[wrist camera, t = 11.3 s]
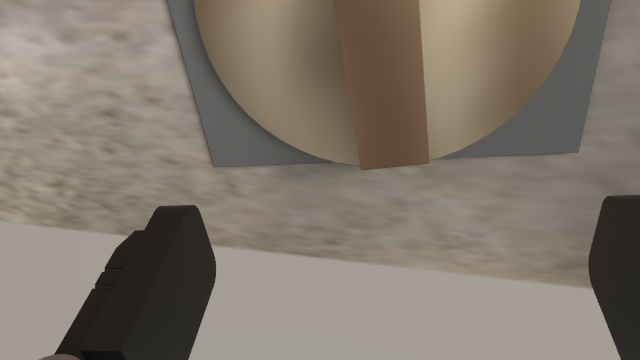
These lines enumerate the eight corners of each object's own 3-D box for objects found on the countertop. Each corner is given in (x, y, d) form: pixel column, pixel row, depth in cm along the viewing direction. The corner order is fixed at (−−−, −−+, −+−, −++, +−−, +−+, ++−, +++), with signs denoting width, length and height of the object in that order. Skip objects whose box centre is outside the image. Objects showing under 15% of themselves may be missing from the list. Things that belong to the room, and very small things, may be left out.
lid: (602, -277, 16) (713, -300, 11) (557, 137, 25) (606, 232, 20) (143, -175, 18) (56, -154, 13) (251, 169, 27) (224, 260, 22)
